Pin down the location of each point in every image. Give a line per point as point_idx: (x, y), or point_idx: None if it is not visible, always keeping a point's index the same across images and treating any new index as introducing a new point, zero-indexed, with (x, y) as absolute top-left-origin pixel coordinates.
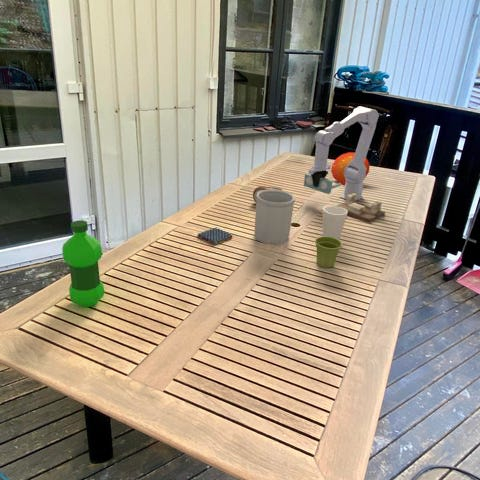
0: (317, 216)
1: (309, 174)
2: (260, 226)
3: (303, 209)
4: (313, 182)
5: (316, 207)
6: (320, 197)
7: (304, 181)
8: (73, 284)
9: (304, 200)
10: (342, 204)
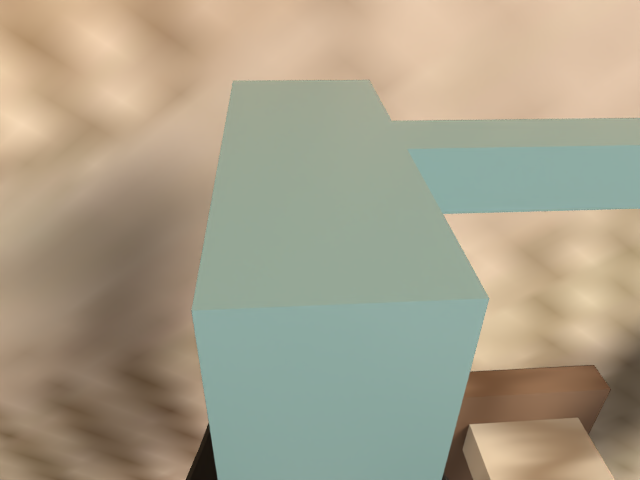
0: (43, 397)
1: (327, 441)
2: None
3: (23, 225)
4: (197, 471)
5: None
6: (591, 94)
7: (223, 146)
8: None
9: (300, 19)
10: None
